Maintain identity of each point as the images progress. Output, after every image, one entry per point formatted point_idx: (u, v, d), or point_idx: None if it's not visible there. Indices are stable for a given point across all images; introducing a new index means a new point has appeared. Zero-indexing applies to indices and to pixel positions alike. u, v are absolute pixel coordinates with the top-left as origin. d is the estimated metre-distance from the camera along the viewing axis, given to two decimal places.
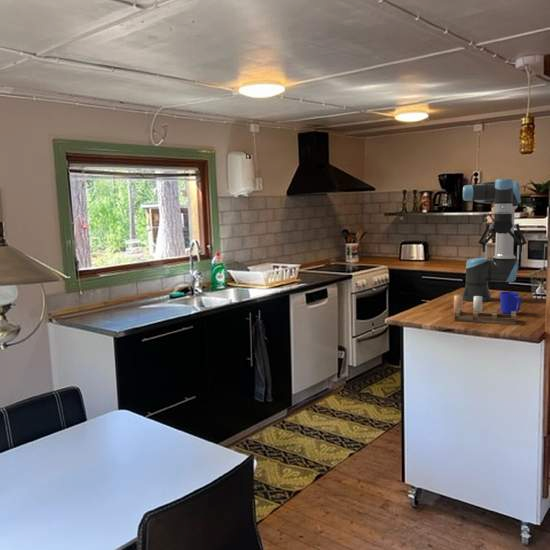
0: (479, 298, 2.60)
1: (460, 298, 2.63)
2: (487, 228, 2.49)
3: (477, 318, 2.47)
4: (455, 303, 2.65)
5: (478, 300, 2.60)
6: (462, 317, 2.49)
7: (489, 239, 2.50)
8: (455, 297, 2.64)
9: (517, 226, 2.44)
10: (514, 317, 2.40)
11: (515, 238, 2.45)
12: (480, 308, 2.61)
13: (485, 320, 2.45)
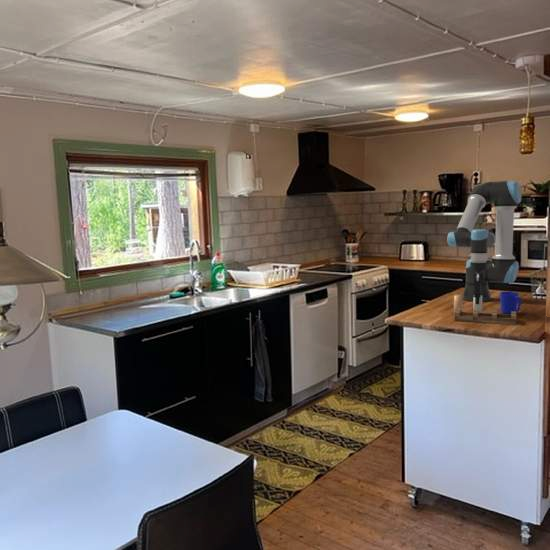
0: None
1: (460, 298, 2.63)
2: None
3: (477, 318, 2.47)
4: (455, 303, 2.65)
5: None
6: (462, 317, 2.49)
7: None
8: (455, 297, 2.64)
9: (475, 278, 2.56)
10: (514, 317, 2.40)
11: None
12: (480, 307, 2.60)
13: (485, 320, 2.45)
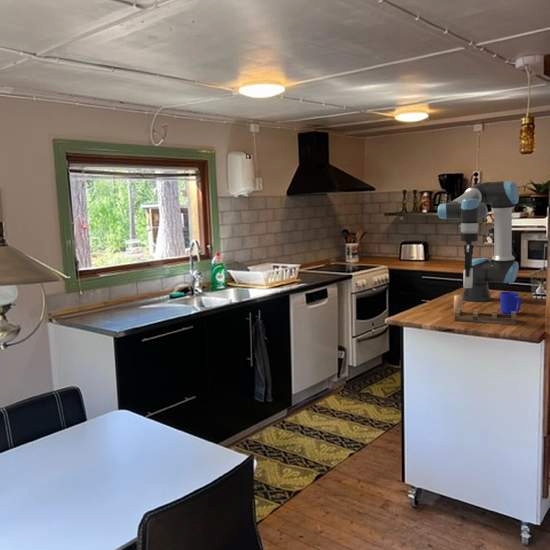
0: None
1: (460, 298, 2.63)
2: None
3: (477, 318, 2.47)
4: (455, 303, 2.65)
5: None
6: (462, 317, 2.49)
7: None
8: (455, 297, 2.64)
9: (465, 249, 2.45)
10: (514, 317, 2.40)
11: None
12: None
13: (485, 320, 2.45)
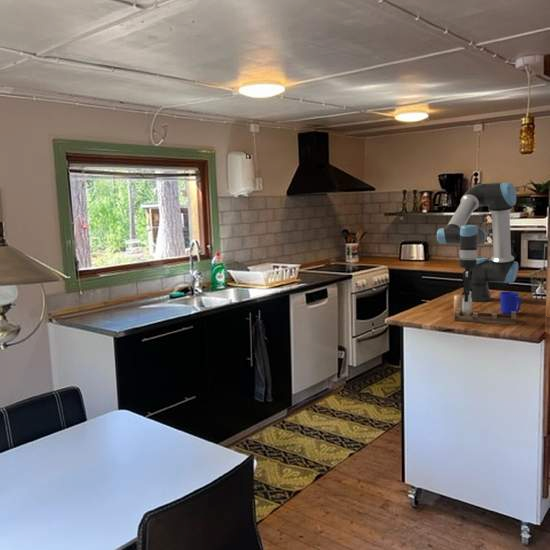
0: None
1: (460, 298, 2.63)
2: None
3: (477, 318, 2.47)
4: (455, 303, 2.65)
5: None
6: (462, 317, 2.49)
7: None
8: (455, 297, 2.64)
9: (464, 274, 2.46)
10: (514, 317, 2.40)
11: None
12: (469, 310, 2.51)
13: (485, 320, 2.45)
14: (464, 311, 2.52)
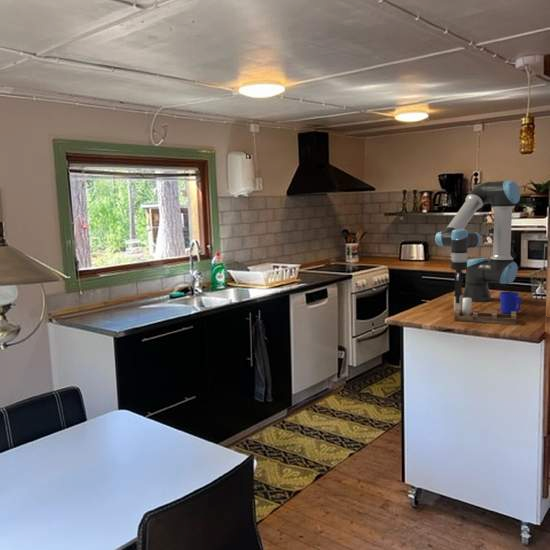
0: (468, 300, 2.50)
1: None
2: None
3: (477, 318, 2.47)
4: None
5: (467, 302, 2.50)
6: (462, 317, 2.49)
7: None
8: None
9: (455, 278, 2.59)
10: (514, 317, 2.40)
11: None
12: (469, 310, 2.51)
13: (485, 320, 2.45)
14: (464, 311, 2.52)
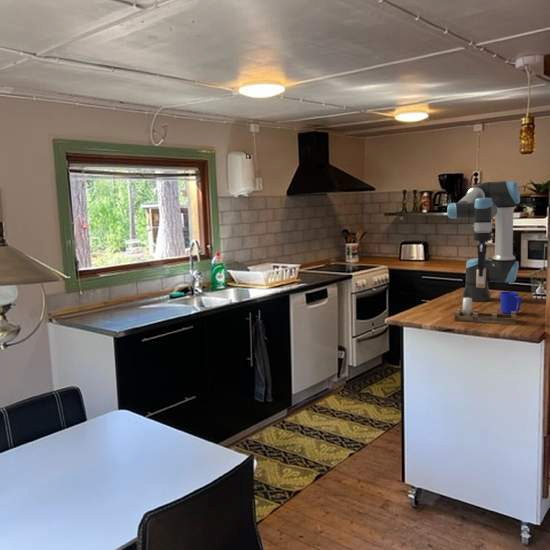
0: (469, 300, 2.50)
1: None
2: None
3: (477, 318, 2.47)
4: None
5: (468, 302, 2.50)
6: (462, 317, 2.49)
7: None
8: None
9: (478, 249, 2.43)
10: (514, 317, 2.40)
11: None
12: (470, 310, 2.51)
13: (485, 320, 2.45)
14: (464, 311, 2.52)
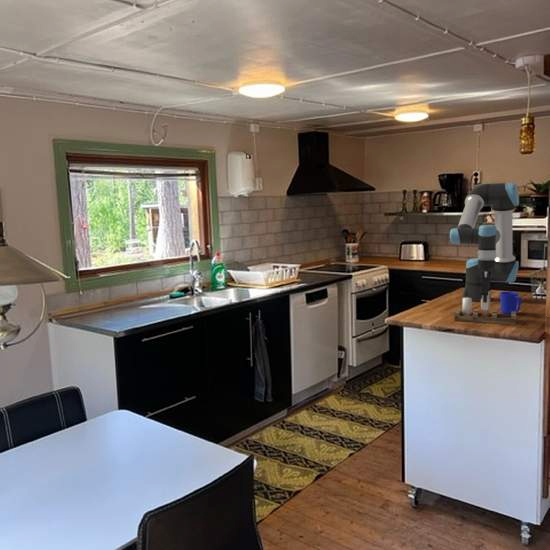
0: (468, 300, 2.50)
1: (488, 301, 2.47)
2: None
3: (477, 318, 2.47)
4: None
5: (467, 302, 2.50)
6: (462, 317, 2.49)
7: None
8: None
9: (482, 275, 2.42)
10: (514, 317, 2.40)
11: None
12: (470, 310, 2.51)
13: (485, 320, 2.45)
14: (464, 311, 2.52)
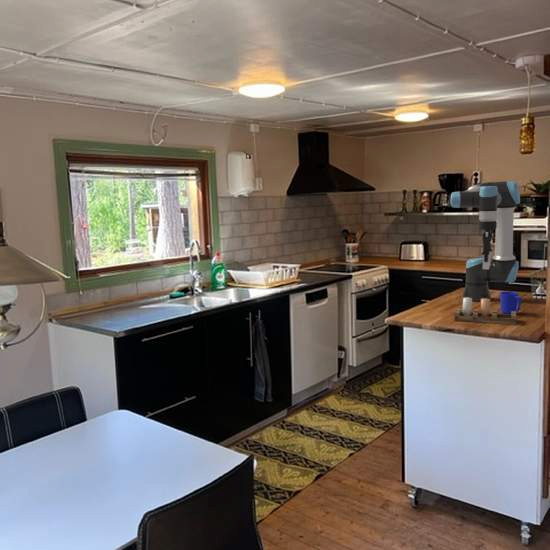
0: (469, 300, 2.50)
1: (488, 302, 2.47)
2: None
3: (477, 318, 2.47)
4: (482, 307, 2.48)
5: (468, 302, 2.50)
6: (462, 317, 2.49)
7: None
8: (482, 301, 2.48)
9: (483, 234, 2.40)
10: (514, 317, 2.40)
11: None
12: (470, 310, 2.51)
13: (485, 320, 2.45)
14: (464, 311, 2.52)
